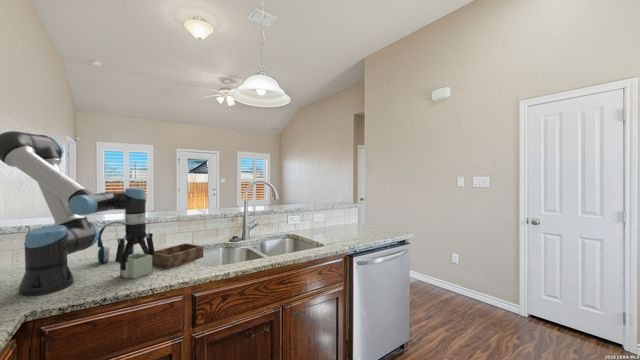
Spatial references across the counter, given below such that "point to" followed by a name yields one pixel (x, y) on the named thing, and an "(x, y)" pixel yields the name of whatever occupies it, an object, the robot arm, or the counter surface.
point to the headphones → (104, 251)
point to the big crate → (177, 255)
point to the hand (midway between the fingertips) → (136, 273)
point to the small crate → (138, 265)
